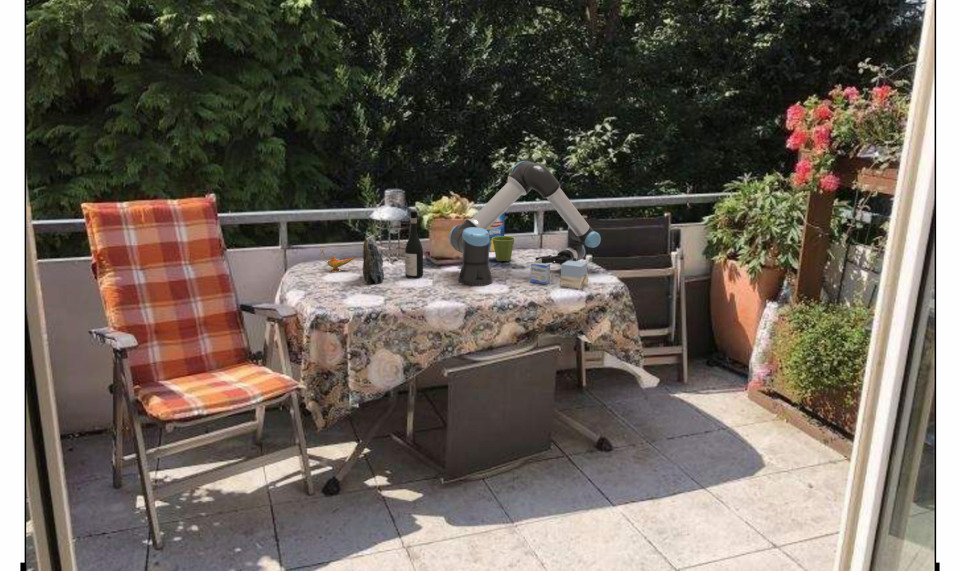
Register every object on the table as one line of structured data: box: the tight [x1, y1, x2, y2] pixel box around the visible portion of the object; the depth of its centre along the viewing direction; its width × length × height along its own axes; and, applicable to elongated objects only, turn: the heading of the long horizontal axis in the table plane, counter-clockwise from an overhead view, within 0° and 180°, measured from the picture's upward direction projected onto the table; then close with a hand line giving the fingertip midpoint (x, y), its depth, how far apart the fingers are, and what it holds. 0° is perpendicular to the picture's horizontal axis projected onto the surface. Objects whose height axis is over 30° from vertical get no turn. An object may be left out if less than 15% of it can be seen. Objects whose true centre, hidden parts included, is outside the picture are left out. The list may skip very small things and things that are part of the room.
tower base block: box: [560, 273, 589, 290], centre depth 342 cm, size 9×9×5 cm
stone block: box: [362, 234, 385, 285], centre depth 344 cm, size 18×9×20 cm, turn 3°
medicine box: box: [529, 261, 551, 285], centre depth 345 cm, size 8×4×9 cm, turn 68°
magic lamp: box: [318, 247, 359, 272], centre depth 360 cm, size 7×18×11 cm, turn 96°
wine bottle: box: [404, 210, 424, 279], centre depth 349 cm, size 8×8×30 cm
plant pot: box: [492, 235, 516, 262], centre depth 385 cm, size 12×12×11 cm
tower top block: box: [560, 260, 589, 278], centre depth 340 cm, size 9×9×5 cm
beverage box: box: [487, 211, 506, 253], centre depth 407 cm, size 7×11×22 cm, turn 116°
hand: (548, 266), depth 351 cm, fingers open, 13 cm apart
